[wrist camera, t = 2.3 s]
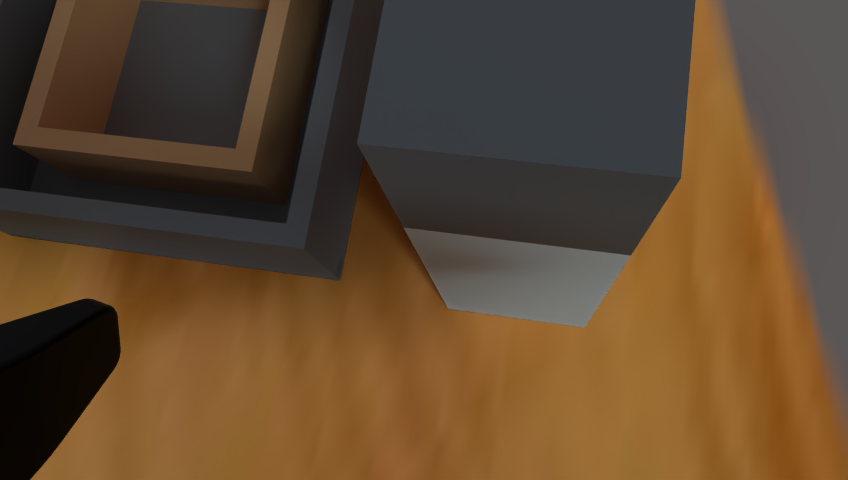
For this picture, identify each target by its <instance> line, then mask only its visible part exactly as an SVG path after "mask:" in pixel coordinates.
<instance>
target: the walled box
mask: <svg viewBox="0 0 848 480" xmlns="http://www.w3.org/2000/svg"><path fill="white" fill-rule="evenodd" d="M383 5H384V0H0V231H2V232H4V233H7V234H10V235H12V236H18V237H26V238H33V239H40V240H48V241H55V242H62V243H70V244H77V245H84V246H92V247H99V248H106V249H114V250H121V251H128V252H136V253H143V254H150V255H158V256H165V257H172V258H180V259H187V260H194V261H202V262H209V263H216V264H224V265H231V266H238V267H246V268H253V269H260V270H267V271H275V272H282V273H289V274H297V275H304V276H311V277H319V278H326V279H333V280H340V279H341V274H342V269H343V263H344V258H345V253H346V248H347V242H348V237H349V232H350V226H351V221H352V216H353V210H354V205H355V200H356V194H357V189H358V184H359V179H360V173H361V168H362V163H363V157H364V155H363V154H362V152H361V150H360V148H359V146H358V145H357V141H358V135H359V130H360V125H361V120H362V115H363V109H364V104H365V99H366V94H367V89H368V83H369V78H370V73H371V68H372V62H373V57H374V52H375V47H376V42H377V36H378V31H379V26H380V21H381V16H382V10H383Z"/></svg>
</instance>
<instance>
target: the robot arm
mask: <svg viewBox="0 0 848 480" xmlns="http://www.w3.org/2000/svg"><path fill="white" fill-rule="evenodd" d="M120 352H121V347H120V337H119V326H118V316H117V312H116V311H115V309H114V308H113V307H112V306H110V305H107V304H104V303H101V302H99V301H96V300H93V299H82V300H78V301H75V302H72V303H68V304H65V305H62V306H59V307H56V308H52V309H49V310H46V311H43V312H39V313H36V314H33V315H30V316H27V317H23V318H20V319H17V320H14V321H10V322H7V323H4V324H1V325H0V480H30V479H31V478H32V477H33V476H34V475H35V473H36V472H37V471H38V470H39V469H40V468H41V467H42V465H43V464H44V463H45V462H46V461H47V459H48V458H49V457H50V456H51V455H52V453H53V452H54V451H55V450H56V448H57V447H58V446H59V444H60V443H61V442H62V440H63V439H64V438H65V436H66V435H67V434H68V432H69V431H70V429H71V428H72V427H73V425H74V424H75V422H76V421H77V420H78V418H79V417H80V416H81V414H82V413H83V411H84V410H85V409H86V407H87V406H88V405H89V403H90V402H91V400H92V399H93V398H94V396H95V395H96V393H97V392H98V391H99V389H100V388H101V387H102V385H103V384H104V382H105V381H106V380H107V378H108V377H109V376H110V374H111V373H112V371H113V370H114V368H115V367H116V365H117V363H118V361H119V358H120Z"/></svg>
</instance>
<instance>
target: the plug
mask: <svg viewBox="0 0 848 480" xmlns="http://www.w3.org/2000/svg"><path fill="white" fill-rule="evenodd" d="M694 10H695V0H384V5H383V10H382V16H381V21H380V26H379V31H378V36H377V42H376V47H375V52H374V57H373V62H372V68H371V73H370V78H369V83H368V89H367V94H366V99H365V104H364V109H363V115H362V120H361V125H360V130H359V135H358V141H357V145H358V146H359V148H360V150H361V152H362V154H363V155H364V157H365V159H366V161H367V163H368V165H369V166H370V168H371V170H372V172H373V174H374V175H375V177H376V179H377V181H378V183H379V184H380V186H381V188H382V190H383V192H384V194H385V195H386V197H387V199H388V201H389V203H390V204H391V206H392V208H393V210H394V212H395V213H396V215H397V217H398V219H399V221H400V223H401V224H402V226H403V228H404V230H405V232H406V233H407V235H408V237H409V239H410V241H411V242H412V244H413V246H414V248H415V250H416V252H417V253H418V255H419V257H420V259H421V261H422V262H423V264H424V266H425V268H426V270H427V271H428V273H429V275H430V277H431V279H432V281H433V282H434V284H435V286H436V288H437V290H438V291H439V293H440V295H441V297H442V299H443V300H444V302H445V304H446V306H447V308H448V309H454V310H461V311H468V312H476V313H483V314H490V315H497V316H504V317H511V318H519V319H526V320H533V321H540V322H547V323H555V324H562V325H569V326H576V327H583V328H585V326H586V324H587V323H588V321H589V320H590V318H591V317H592V315H593V314H594V312H595V310H596V309H597V307H598V306H599V304H600V303H601V301H602V300H603V298H604V296H605V295H606V293H607V292H608V290H609V289H610V287H611V286H612V284H613V283H614V281H615V279H616V278H617V276H618V275H619V273H620V272H621V270H622V269H623V267H624V265H625V264H626V262H627V261H628V259H629V258H630V256H631V255H632V253H633V251H634V250H635V248H636V247H637V245H638V244H639V242H640V241H641V239H642V238H643V236H644V234H645V233H646V231H647V230H648V228H649V227H650V225H651V224H652V222H653V220H654V219H655V217H656V216H657V214H658V213H659V211H660V210H661V208H662V206H663V205H664V203H665V202H666V200H667V199H668V197H669V196H670V194H671V193H672V191H673V189H674V188H675V186H676V185H677V183H678V182H679V180H680V179H681V171H682V158H683V146H684V134H685V121H686V109H687V96H688V84H689V72H690V59H691V47H692V35H693V22H694Z"/></svg>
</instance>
